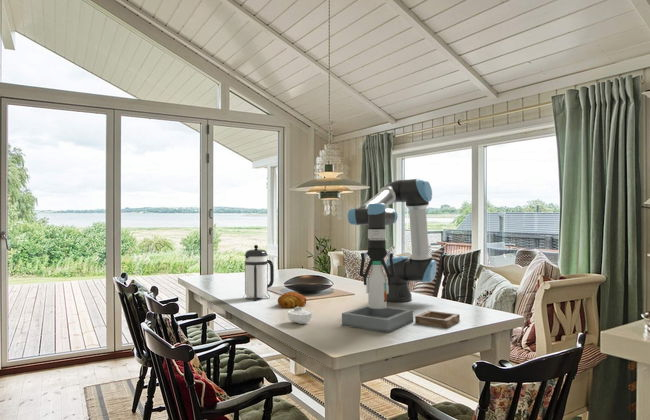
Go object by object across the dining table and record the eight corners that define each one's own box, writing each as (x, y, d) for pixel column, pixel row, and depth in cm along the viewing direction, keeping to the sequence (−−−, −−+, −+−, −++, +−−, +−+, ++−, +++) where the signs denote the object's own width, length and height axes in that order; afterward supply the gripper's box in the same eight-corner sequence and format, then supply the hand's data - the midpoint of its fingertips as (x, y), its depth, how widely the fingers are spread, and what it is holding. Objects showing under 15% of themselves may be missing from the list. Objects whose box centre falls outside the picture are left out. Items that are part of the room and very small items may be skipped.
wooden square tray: (429, 317, 202) (428, 310, 202) (459, 321, 193) (459, 314, 193) (415, 323, 191) (415, 316, 191) (447, 328, 182) (447, 320, 182)
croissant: (273, 312, 227) (272, 296, 226) (286, 301, 241) (285, 287, 240) (300, 313, 222) (298, 297, 221) (311, 302, 236) (310, 287, 236)
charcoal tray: (369, 315, 207) (369, 304, 207) (413, 321, 193) (412, 310, 193) (341, 325, 189) (341, 313, 189) (388, 333, 176) (388, 320, 176)
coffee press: (269, 301, 244) (269, 245, 244) (240, 301, 244) (240, 245, 244) (274, 295, 261) (273, 243, 261) (246, 295, 261) (246, 243, 262)
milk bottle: (380, 310, 186) (380, 261, 186) (364, 308, 190) (364, 260, 191) (390, 307, 192) (389, 260, 192) (374, 305, 196) (374, 259, 197)
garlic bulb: (294, 327, 186) (294, 311, 186) (284, 321, 197) (284, 306, 197) (316, 324, 190) (316, 308, 190) (305, 319, 201) (305, 303, 201)
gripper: (351, 239, 190) (352, 293, 190) (400, 239, 186) (401, 295, 185) (354, 238, 197) (354, 291, 197) (401, 238, 193) (402, 292, 193)
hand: (377, 293), depth 191 cm, fingers closed on milk bottle, 8 cm apart
